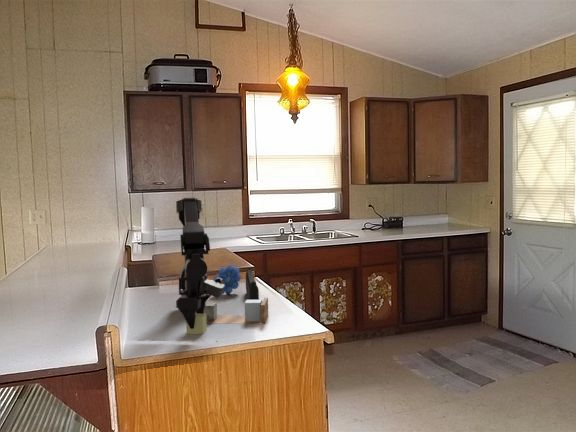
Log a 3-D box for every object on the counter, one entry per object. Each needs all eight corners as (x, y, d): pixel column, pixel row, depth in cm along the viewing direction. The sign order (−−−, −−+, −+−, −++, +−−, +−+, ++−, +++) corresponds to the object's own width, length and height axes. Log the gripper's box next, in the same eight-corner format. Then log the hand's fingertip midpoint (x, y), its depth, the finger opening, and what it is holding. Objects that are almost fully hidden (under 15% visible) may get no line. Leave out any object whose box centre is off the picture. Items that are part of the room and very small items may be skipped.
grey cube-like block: (199, 321, 151) (198, 305, 151) (202, 317, 155) (201, 302, 155) (214, 321, 151) (213, 305, 150) (217, 317, 155) (216, 302, 154)
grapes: (238, 290, 197) (237, 262, 196) (243, 293, 190) (242, 264, 190) (211, 293, 192) (210, 264, 191) (215, 297, 186) (214, 267, 185)
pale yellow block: (186, 337, 139) (186, 317, 138) (190, 332, 143) (189, 313, 142) (203, 337, 138) (202, 317, 138) (206, 332, 142) (206, 313, 142)
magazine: (259, 288, 160) (253, 251, 188) (249, 289, 160) (245, 251, 187) (259, 331, 166) (253, 288, 194) (250, 331, 166) (245, 289, 194)
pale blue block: (245, 321, 150) (244, 302, 149) (247, 317, 154) (246, 299, 153) (260, 321, 149) (260, 302, 149) (262, 317, 153) (261, 299, 153)
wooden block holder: (196, 326, 149) (195, 304, 148) (203, 318, 158) (202, 297, 157) (264, 326, 147) (264, 304, 146) (268, 318, 156) (268, 297, 155)
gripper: (214, 278, 129) (215, 334, 130) (228, 266, 148) (229, 314, 149) (174, 278, 130) (176, 333, 131) (193, 266, 149) (195, 314, 150)
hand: (196, 323), depth 140 cm, fingers open, 9 cm apart
